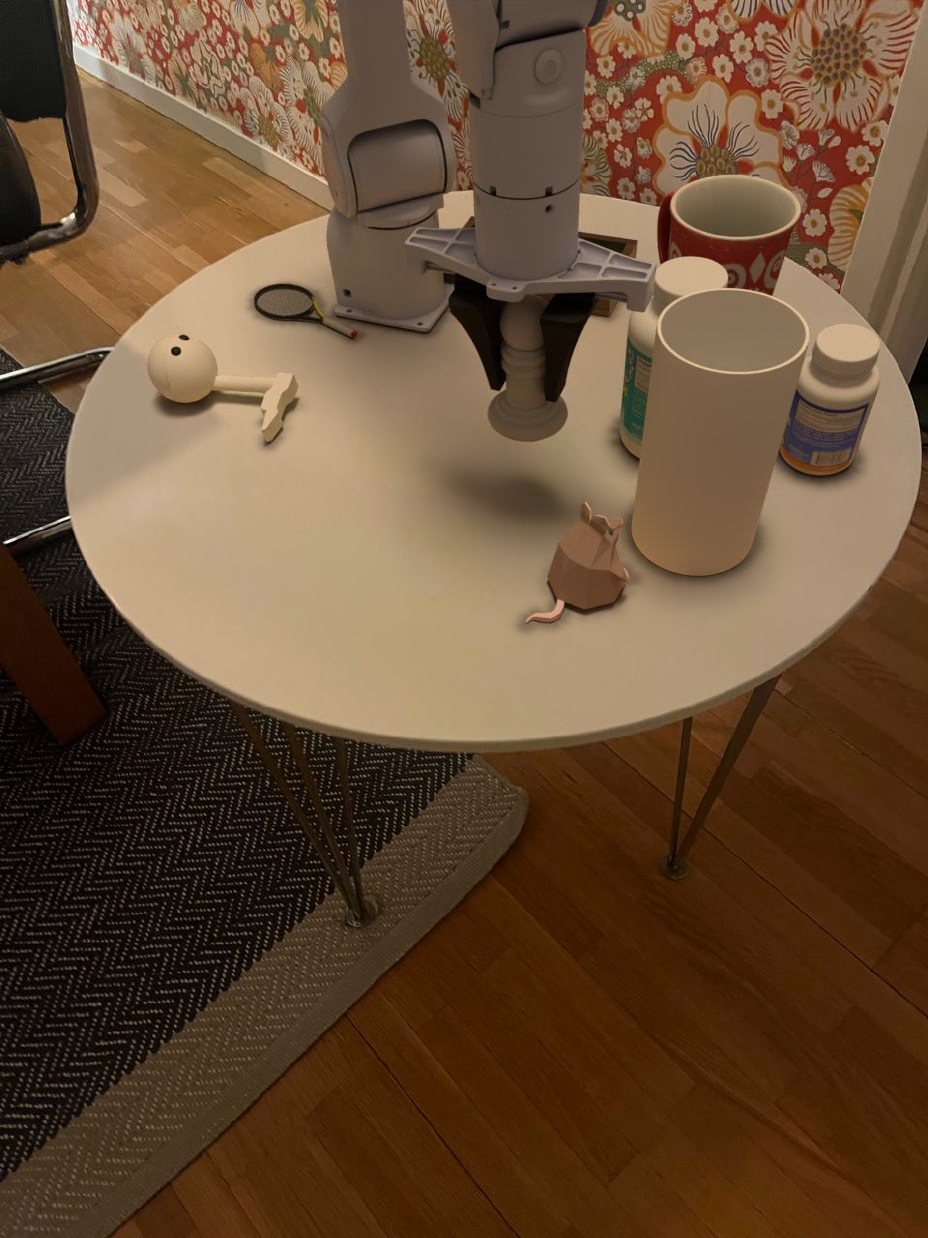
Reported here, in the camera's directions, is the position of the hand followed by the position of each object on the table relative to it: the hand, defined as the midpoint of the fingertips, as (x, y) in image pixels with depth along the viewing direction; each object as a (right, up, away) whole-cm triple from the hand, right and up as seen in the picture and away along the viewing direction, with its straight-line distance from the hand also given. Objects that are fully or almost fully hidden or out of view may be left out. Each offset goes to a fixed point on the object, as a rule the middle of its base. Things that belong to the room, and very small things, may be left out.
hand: (527, 386), depth 57 cm
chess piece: (0, -2, +2) cm, 3 cm away
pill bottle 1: (+11, -1, +10) cm, 15 cm away
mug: (+15, +7, +17) cm, 23 cm away
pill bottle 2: (+22, -3, +8) cm, 24 cm away
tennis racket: (-20, +11, +22) cm, 32 cm away
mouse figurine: (+3, -13, +1) cm, 14 cm away
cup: (+12, -9, +4) cm, 15 cm away
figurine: (-30, +5, +15) cm, 34 cm away
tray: (+3, +17, +25) cm, 30 cm away
